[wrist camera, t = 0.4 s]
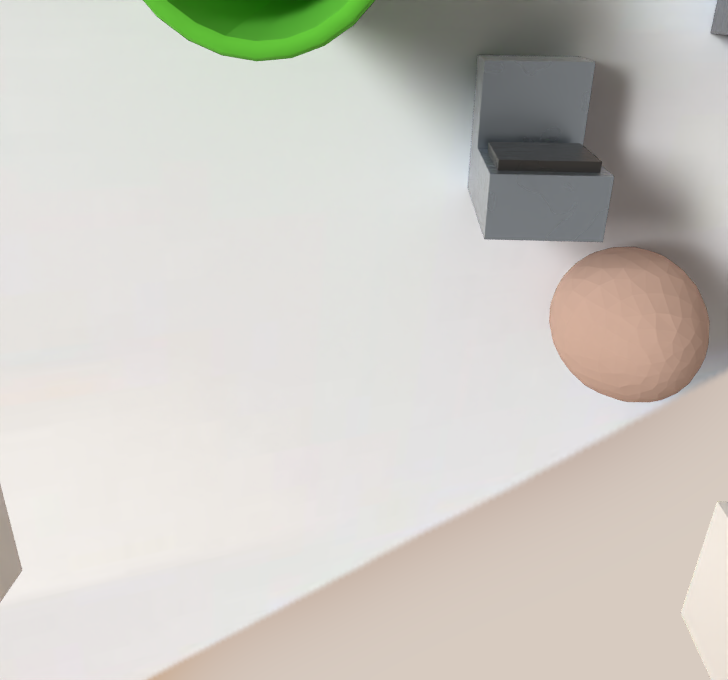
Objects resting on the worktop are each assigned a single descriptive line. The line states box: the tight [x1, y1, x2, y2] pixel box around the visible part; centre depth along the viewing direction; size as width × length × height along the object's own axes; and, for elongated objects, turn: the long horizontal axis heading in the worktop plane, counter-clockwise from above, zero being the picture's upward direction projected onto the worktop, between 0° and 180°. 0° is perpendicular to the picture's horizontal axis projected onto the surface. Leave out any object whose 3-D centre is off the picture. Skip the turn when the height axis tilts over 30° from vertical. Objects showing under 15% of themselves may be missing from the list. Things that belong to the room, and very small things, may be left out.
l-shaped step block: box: [468, 55, 614, 242], centre depth 28 cm, size 6×4×8 cm
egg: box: [549, 247, 709, 402], centre depth 31 cm, size 7×7×9 cm
